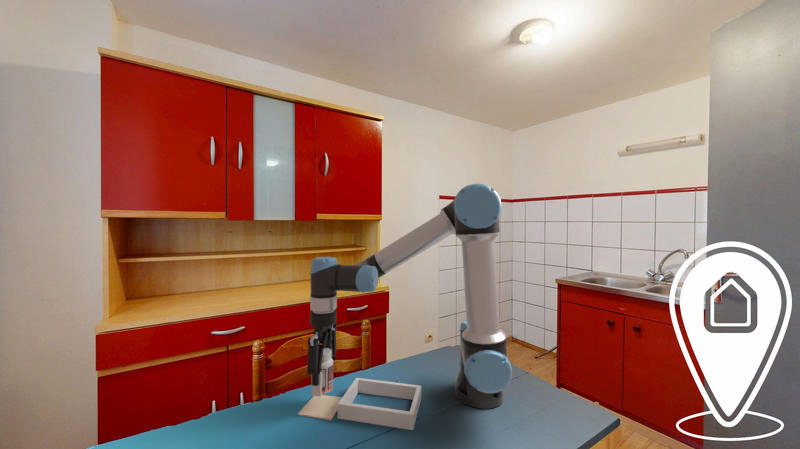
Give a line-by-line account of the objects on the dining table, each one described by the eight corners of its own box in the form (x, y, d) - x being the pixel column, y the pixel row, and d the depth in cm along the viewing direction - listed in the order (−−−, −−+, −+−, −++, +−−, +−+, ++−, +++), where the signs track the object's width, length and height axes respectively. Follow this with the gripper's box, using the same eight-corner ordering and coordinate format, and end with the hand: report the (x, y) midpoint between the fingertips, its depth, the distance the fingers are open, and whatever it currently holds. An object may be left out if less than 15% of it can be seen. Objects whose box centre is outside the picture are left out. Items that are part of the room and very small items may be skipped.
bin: (421, 398, 91) (421, 385, 91) (413, 430, 77) (413, 415, 77) (356, 390, 96) (356, 377, 96) (337, 418, 82) (337, 403, 82)
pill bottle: (328, 381, 91) (329, 345, 91) (336, 391, 86) (336, 352, 86) (308, 387, 88) (309, 349, 88) (315, 398, 83) (315, 357, 83)
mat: (345, 399, 91) (345, 398, 91) (330, 420, 81) (330, 418, 81) (315, 395, 93) (315, 393, 93) (297, 415, 83) (297, 413, 83)
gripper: (326, 300, 97) (325, 371, 97) (293, 319, 78) (292, 406, 78) (348, 302, 95) (347, 374, 95) (319, 321, 77) (318, 410, 77)
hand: (322, 388), depth 87 cm, fingers closed on pill bottle, 6 cm apart
